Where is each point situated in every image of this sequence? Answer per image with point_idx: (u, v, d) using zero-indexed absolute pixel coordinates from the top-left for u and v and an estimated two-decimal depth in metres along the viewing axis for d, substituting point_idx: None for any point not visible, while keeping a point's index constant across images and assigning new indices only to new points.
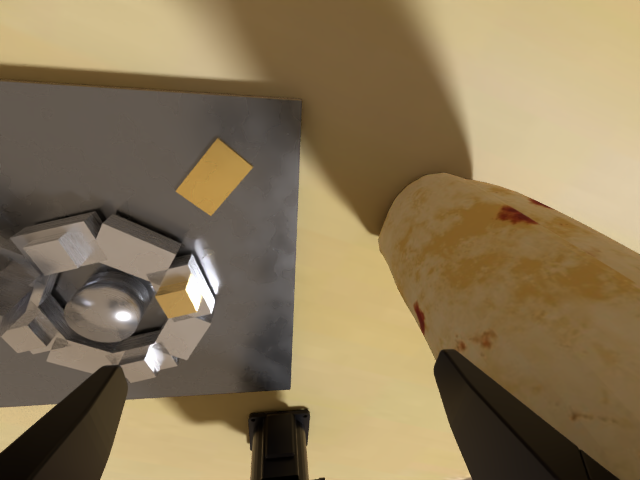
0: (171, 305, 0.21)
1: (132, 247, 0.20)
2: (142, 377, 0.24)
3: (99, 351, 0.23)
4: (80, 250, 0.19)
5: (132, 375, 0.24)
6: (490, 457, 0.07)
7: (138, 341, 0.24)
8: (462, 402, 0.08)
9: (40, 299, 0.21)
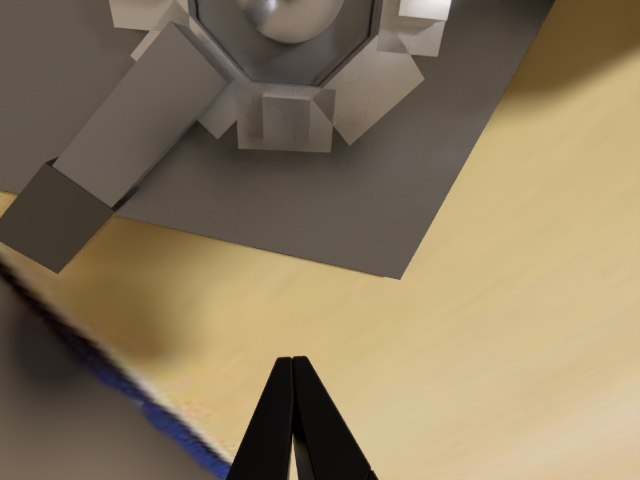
0: None
1: None
2: None
3: (365, 54, 0.14)
4: None
5: (432, 2, 0.12)
6: (303, 476, 0.07)
7: None
8: (294, 414, 0.08)
9: (236, 69, 0.13)
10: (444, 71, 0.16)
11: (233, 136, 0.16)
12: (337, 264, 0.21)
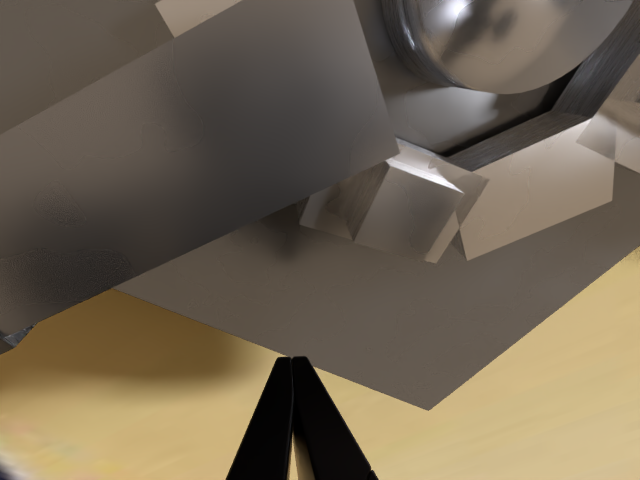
0: None
1: None
2: None
3: (557, 142, 0.08)
4: None
5: None
6: (303, 476, 0.07)
7: (619, 43, 0.08)
8: (294, 414, 0.08)
9: None
10: None
11: None
12: (360, 382, 0.15)
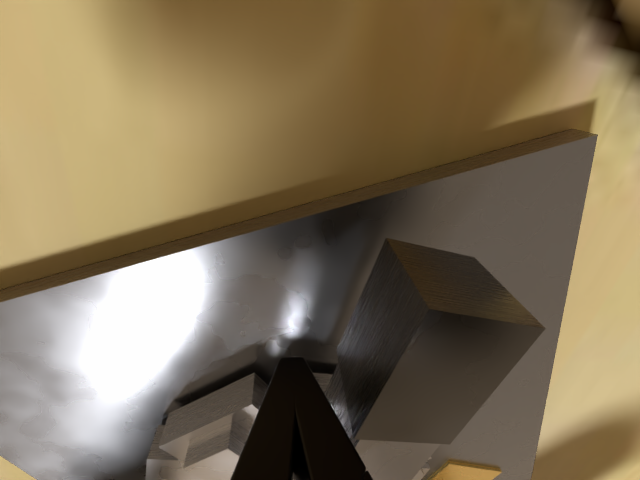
0: None
1: None
2: None
3: None
4: None
5: None
6: (299, 476, 0.07)
7: None
8: None
9: None
10: None
11: (262, 365, 0.13)
12: None
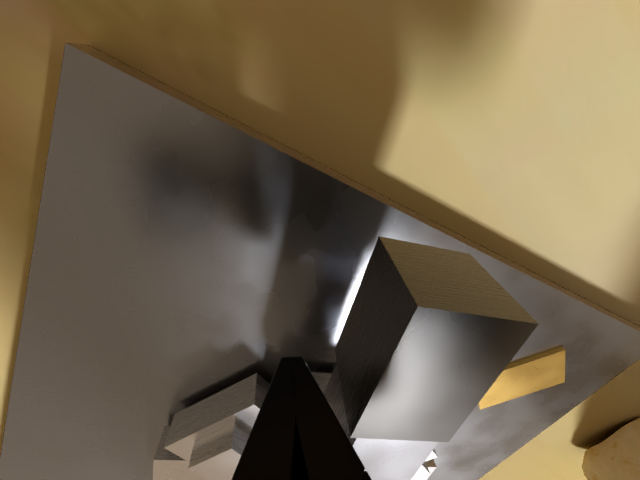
0: None
1: None
2: None
3: None
4: None
5: None
6: (298, 476, 0.07)
7: None
8: None
9: None
10: None
11: (170, 416, 0.14)
12: None
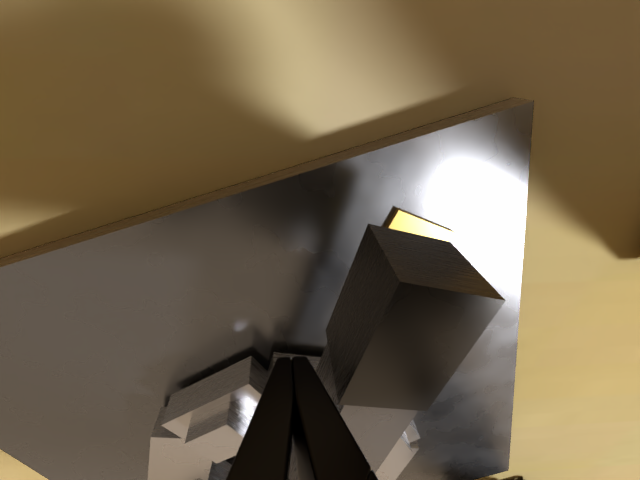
0: None
1: (391, 467, 0.17)
2: None
3: (204, 472, 0.16)
4: None
5: None
6: (303, 476, 0.07)
7: None
8: (294, 414, 0.08)
9: None
10: None
11: None
12: None
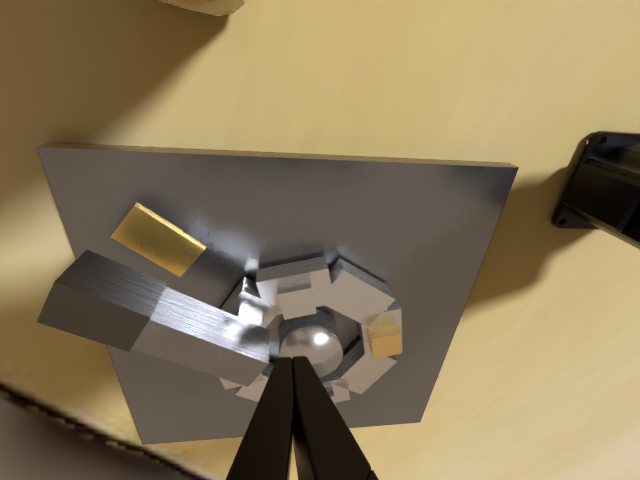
0: (382, 347, 0.21)
1: (360, 292, 0.20)
2: None
3: None
4: (313, 294, 0.20)
5: None
6: (303, 476, 0.07)
7: None
8: (294, 414, 0.08)
9: None
10: (412, 333, 0.25)
11: None
12: (373, 425, 0.31)
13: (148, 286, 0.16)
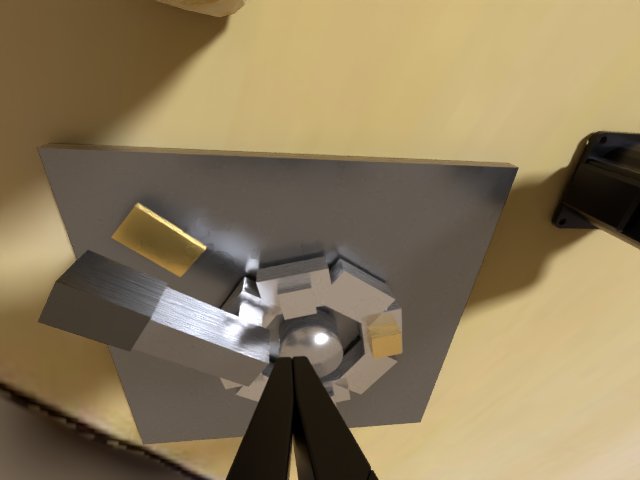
0: (382, 347, 0.21)
1: (360, 292, 0.20)
2: None
3: None
4: (313, 294, 0.20)
5: None
6: (303, 476, 0.07)
7: None
8: (294, 414, 0.08)
9: None
10: (412, 333, 0.25)
11: None
12: (374, 425, 0.31)
13: (149, 286, 0.16)
